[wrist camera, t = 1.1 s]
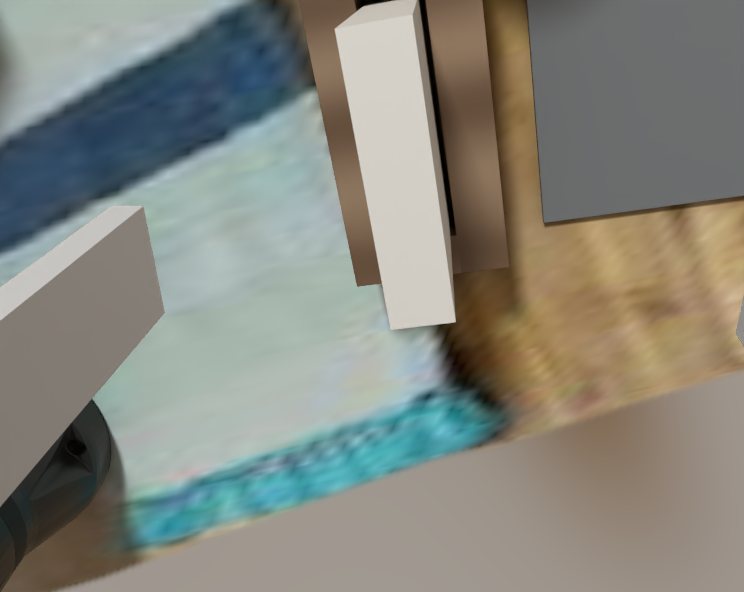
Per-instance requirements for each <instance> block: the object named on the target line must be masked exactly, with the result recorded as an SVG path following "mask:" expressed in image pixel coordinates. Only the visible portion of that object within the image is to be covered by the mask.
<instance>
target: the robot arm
mask: <svg viewBox="0 0 744 592" xmlns="http://www.w3.org/2000/svg"><path fill="white" fill-rule="evenodd" d="M164 313H165V312H164V307H163V302H162V297H161V292H160V287H159V282H158V277H157V272H156V267H155V262H154V257H153V252H152V247H151V243H150V238H149V233H148V228H147V223H146V218H145V213H144V208H143V206H111V207H109V208H108V209H107V210H105V211H104V212H102V213H101V214H100V215H98V216H97V217H96V218H94V219H93V220H92V221H90V222H89V223H87V224H86V225H85V226H83V227H82V228H81V229H79V230H78V231H77V232H75V233H74V234H72V235H71V236H70V237H68V238H67V239H66V240H64V241H63V242H62V243H60V244H59V245H57V246H56V247H55V248H53V249H52V250H51V251H49V252H48V253H47V254H45V255H44V256H42V257H41V258H40V259H38V260H37V261H36V262H34V263H33V264H32V265H30V266H29V267H27V268H26V269H25V270H23V271H22V272H21V273H19V274H18V275H17V276H15V277H14V278H12V279H11V280H10V281H8V282H7V283H6V284H4V285H3V286H2V287H0V592H1V590H2V589H3V587H4V586H5V584H6V583H7V581H8V580H9V578H10V576H11V575H12V573H13V572H14V570H15V569H16V567H17V566H18V564H19V563H20V562H21V560H22V559H23V557H24V556H25V555H27V554H28V553H29V552H31V551H32V550H33V549H35V548H36V547H37V546H39V545H40V544H41V543H43V542H44V541H45V540H47V539H48V538H49V537H51V536H52V535H53V534H55V533H56V532H57V531H59V530H60V529H61V528H63V527H64V526H65V525H67V524H68V523H69V522H71V521H72V520H73V519H75V518H76V517H77V516H78V515H79V514H80V513H81V512H82V511H83V510H84V509H85V508H86V507H87V506H88V505H89V503H90V502H91V501H92V499H93V497H94V496H95V494H96V493H97V491H98V489H99V488H100V486H101V484H102V483H103V481H104V479H105V477H106V475H107V472H108V469H109V465H110V459H111V446H110V439H109V435H108V432H107V428H106V426H105V423H104V421H103V419H102V417H101V415H100V413H99V411H98V410H97V408H96V406H95V405H94V404H93V402H92V401H91V399H92V398H93V397H94V396H95V394H96V393H97V392H98V391H99V390H100V388H101V387H102V386H103V385H104V384H105V383H106V381H107V380H108V379H109V378H110V377H111V375H112V374H113V373H114V372H115V371H116V370H117V368H118V367H119V366H120V365H121V364H122V362H123V361H124V360H125V359H126V358H127V357H128V355H129V354H130V353H131V352H132V351H133V349H134V348H135V347H136V346H137V345H138V344H139V342H140V341H141V340H142V339H143V338H144V336H145V335H146V334H147V333H148V332H149V331H150V329H151V328H152V327H153V326H154V325H155V323H156V322H157V321H158V320H159V319H160V318H161V316H162V315H163V314H164ZM736 335H737V336H738V338H739V340H740V341H741V343H742V344H743V346H744V298H743V303H742V307H741V311H740V316H739V320H738V325H737V329H736Z"/></svg>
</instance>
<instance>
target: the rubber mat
mask: <svg viewBox="0 0 744 592" xmlns="http://www.w3.org/2000/svg"><path fill="white" fill-rule="evenodd" d="M526 4H527V17H528V30H529V43H530V56H531V69H532V83H533V96H534V109H535V122H536V135H537V148H538V161H539V174H540V187H541V200H542V214H543V222H544V223H546V222H554V221H561V220H568V219H576V218H583V217H590V216H598V215H605V214H612V213H620V212H627V211H635V210H642V209H649V208H657V207H664V206H671V205H679V204H686V203H693V202H701V201H708V200H715V199H723V198H730V197H738V196H744V0H526Z"/></svg>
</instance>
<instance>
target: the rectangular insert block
mask: <svg viewBox="0 0 744 592" xmlns="http://www.w3.org/2000/svg"><path fill="white" fill-rule="evenodd" d="M335 34H336V39H337V45H338V50H339V55H340V61H341V66H342V71H343V77H344V82H345V88H346V93H347V98H348V104H349V109H350V114H351V120H352V125H353V131H354V136H355V141H356V147H357V152H358V157H359V163H360V168H361V173H362V179H363V184H364V190H365V195H366V200H367V206H368V211H369V216H370V222H371V227H372V232H373V238H374V243H375V249H376V254H377V259H378V265H379V270H380V275H381V281H382V286H383V292H384V297H385V302H386V308H387V313H388V318H389V324H390V329H391V330H395V329H403V328H412V327H420V326H429V325H437V324H445V323H454V322H456V318H455V303H454V287H453V272H452V256H451V240H450V225H449V209H448V196H447V189H446V181H445V174H444V167H443V159H442V152H441V144H440V137H439V130H438V122H437V115H436V107H435V100H434V93H433V85H432V78H431V70H430V63H429V56H428V48H427V41H426V33H425V26H424V19H423V11H422V4H421V0H371V1H369V2H368V3H367V4H365V5H364V6H363V7H362V8H360V9H359V10H358V11H357V12H355V13H354V14H353V15H352V16H350V17H349V18H348V19H346V20H345V21H344V22H343V23H341V24H340V25H339V26H338V27H336V28H335Z"/></svg>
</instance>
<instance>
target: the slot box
mask: <svg viewBox="0 0 744 592" xmlns="http://www.w3.org/2000/svg"><path fill="white" fill-rule="evenodd" d="M369 1H371V0H299V3H300V8H301V13H302V18H303V23H304V27H305V32H306V37H307V42H308V47H309V52H310V57H311V62H312V67H313V72H314V77H315V82H316V87H317V91H318V96H319V101H320V106H321V111H322V116H323V121H324V126H325V131H326V136H327V141H328V146H329V150H330V155H331V160H332V165H333V170H334V175H335V180H336V185H337V190H338V195H339V200H340V205H341V210H342V214H343V219H344V224H345V229H346V234H347V239H348V244H349V249H350V254H351V259H352V264H353V269H354V273H355V278H356V283H357V286H365V285H373V284H381V283H382V281H381V275H380V270H379V265H378V259H377V254H376V249H375V243H374V238H373V232H372V227H371V222H370V216H369V211H368V206H367V200H366V195H365V190H364V184H363V179H362V173H361V168H360V163H359V157H358V152H357V147H356V141H355V136H354V131H353V125H352V120H351V114H350V109H349V104H348V98H347V93H346V88H345V82H344V77H343V71H342V66H341V61H340V55H339V50H338V45H337V39H336V34H335V28H336V27H338V26H339V25H340V24H341V23H343V22H344V21H345V20H346V19H348V18H349V17H350V16H352V15H353V14H354V13H355V12H357V11H358V10H359V9H360V8H362V7H363V6H364V5H365V4H367V3H368V2H369ZM421 4H422V11H423V19H424V26H425V33H426V41H427V48H428V56H429V63H430V70H431V78H432V85H433V93H434V100H435V107H436V115H437V122H438V130H439V137H440V144H441V152H442V159H443V167H444V174H445V181H446V189H447V196H448V209H449V225H450V240H451V256H452V272H453V274H459V273H467V272H475V271H482V270H490V269H498V268H506V267H509V260H508V250H507V240H506V230H505V220H504V210H503V200H502V191H501V181H500V171H499V161H498V151H497V141H496V131H495V121H494V111H493V101H492V91H491V81H490V72H489V62H488V52H487V42H486V32H485V22H484V12H483V2H482V0H421Z"/></svg>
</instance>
